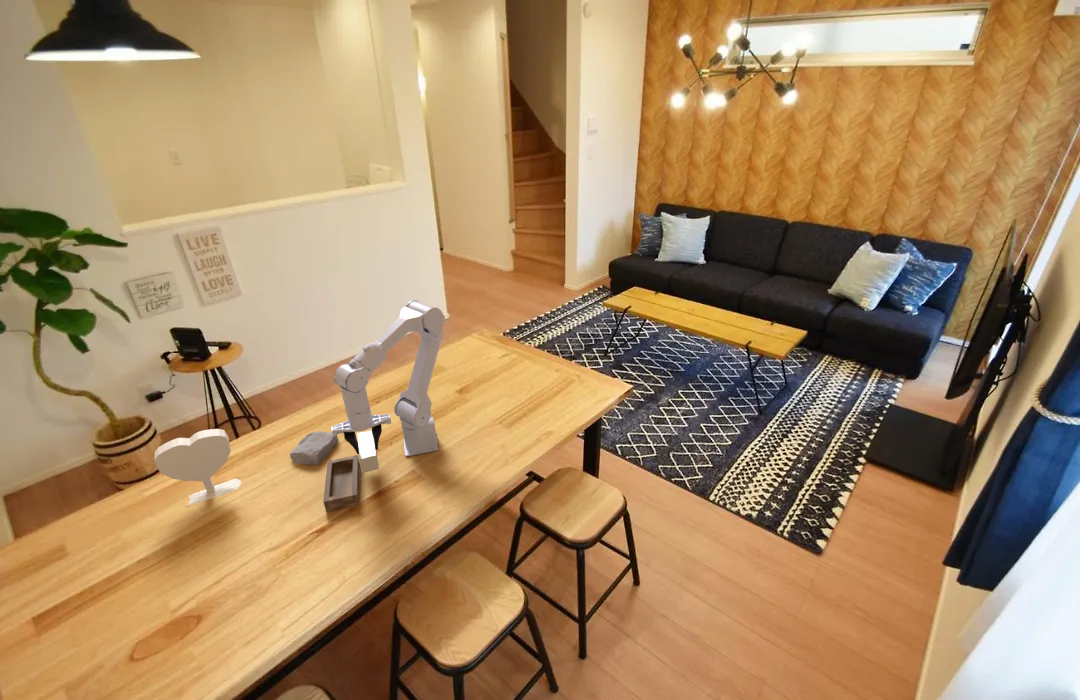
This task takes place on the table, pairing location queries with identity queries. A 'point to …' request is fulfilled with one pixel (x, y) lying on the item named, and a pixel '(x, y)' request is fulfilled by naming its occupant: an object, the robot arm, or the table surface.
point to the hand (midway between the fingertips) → (367, 449)
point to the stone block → (313, 448)
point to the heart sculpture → (197, 462)
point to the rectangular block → (367, 452)
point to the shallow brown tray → (342, 483)
